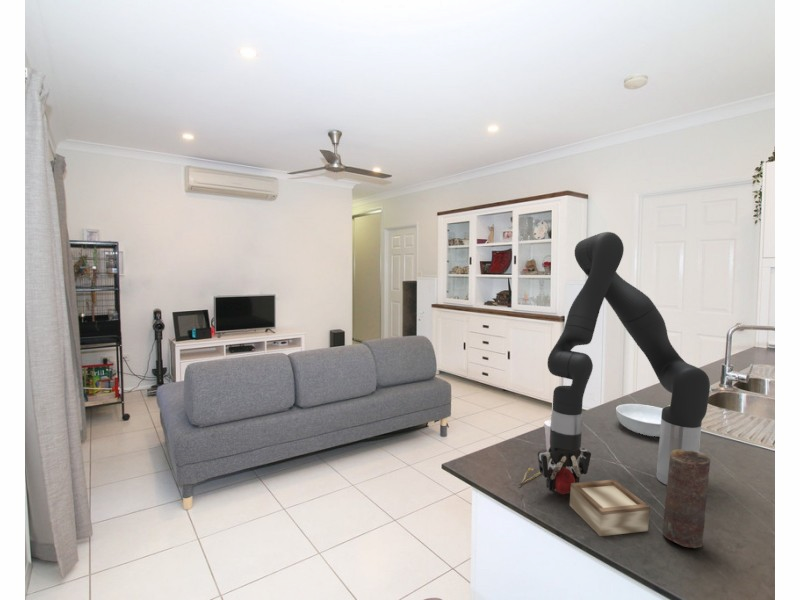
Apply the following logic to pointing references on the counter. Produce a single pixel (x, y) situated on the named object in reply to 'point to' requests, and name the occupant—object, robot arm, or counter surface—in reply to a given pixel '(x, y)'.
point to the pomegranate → (564, 480)
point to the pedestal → (609, 507)
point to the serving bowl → (640, 418)
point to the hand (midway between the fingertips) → (562, 489)
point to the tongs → (529, 478)
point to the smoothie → (547, 433)
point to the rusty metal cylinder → (686, 497)
